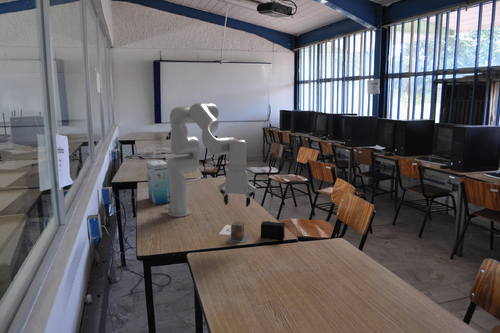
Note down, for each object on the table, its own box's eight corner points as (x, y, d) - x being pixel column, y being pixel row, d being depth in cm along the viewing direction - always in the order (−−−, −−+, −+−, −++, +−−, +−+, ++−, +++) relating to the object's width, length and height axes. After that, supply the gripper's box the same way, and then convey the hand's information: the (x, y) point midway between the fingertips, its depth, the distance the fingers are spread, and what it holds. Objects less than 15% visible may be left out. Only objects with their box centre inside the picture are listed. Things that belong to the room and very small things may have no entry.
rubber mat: (225, 241, 167) (225, 241, 167) (230, 234, 176) (230, 233, 176) (245, 243, 166) (245, 242, 166) (249, 235, 174) (249, 235, 174)
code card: (218, 234, 176) (218, 233, 176) (225, 225, 189) (225, 224, 189) (235, 235, 175) (235, 235, 175) (241, 226, 187) (241, 225, 187)
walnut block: (231, 239, 169) (231, 224, 168) (233, 235, 174) (233, 221, 172) (242, 240, 168) (241, 225, 167) (244, 236, 173) (244, 221, 172)
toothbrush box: (148, 198, 239) (146, 160, 234) (164, 196, 243) (162, 159, 239) (154, 205, 223) (152, 165, 219) (171, 203, 228) (170, 163, 223)
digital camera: (285, 236, 174) (285, 222, 173) (283, 240, 169) (283, 225, 168) (263, 234, 176) (263, 220, 175) (260, 238, 171) (260, 224, 170)
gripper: (216, 168, 163) (215, 206, 166) (255, 170, 160) (254, 209, 163) (220, 164, 170) (220, 201, 174) (258, 167, 167) (257, 204, 170)
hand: (236, 205), depth 168 cm, fingers open, 9 cm apart
